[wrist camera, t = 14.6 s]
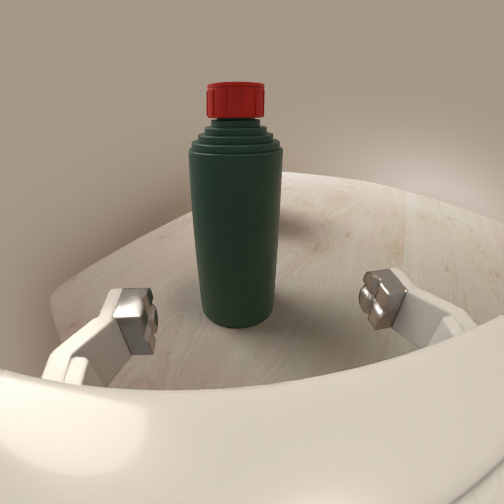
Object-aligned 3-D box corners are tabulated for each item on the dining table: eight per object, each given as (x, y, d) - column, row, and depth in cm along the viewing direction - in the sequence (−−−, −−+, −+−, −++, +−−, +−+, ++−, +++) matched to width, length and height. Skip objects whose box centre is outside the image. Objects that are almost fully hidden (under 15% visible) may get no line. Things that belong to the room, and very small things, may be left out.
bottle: (219, 338, 21) (207, 85, 12) (192, 293, 26) (176, 94, 17) (287, 312, 24) (305, 91, 15) (251, 275, 29) (254, 93, 20)
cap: (220, 118, 15) (220, 80, 14) (199, 117, 18) (199, 86, 17) (274, 117, 17) (275, 84, 15) (247, 115, 19) (247, 86, 18)
